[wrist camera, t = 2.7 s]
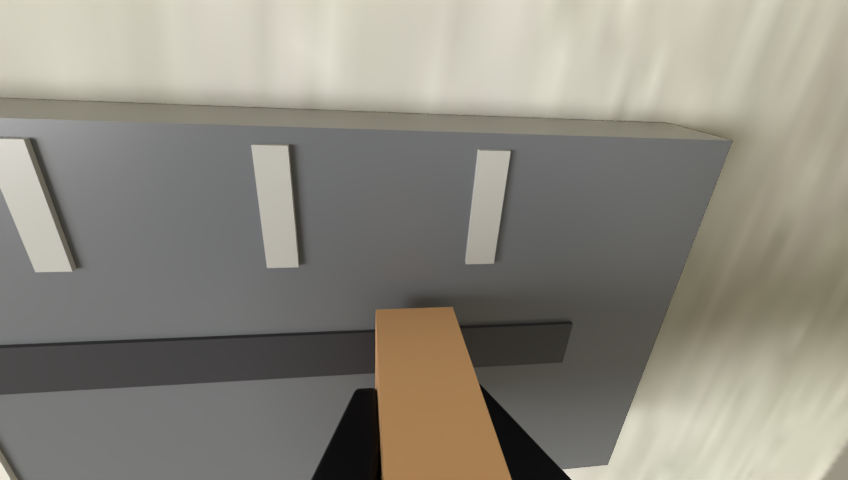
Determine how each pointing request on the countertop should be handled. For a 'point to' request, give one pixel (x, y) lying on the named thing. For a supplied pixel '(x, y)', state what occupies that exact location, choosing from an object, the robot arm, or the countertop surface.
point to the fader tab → (431, 401)
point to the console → (320, 275)
